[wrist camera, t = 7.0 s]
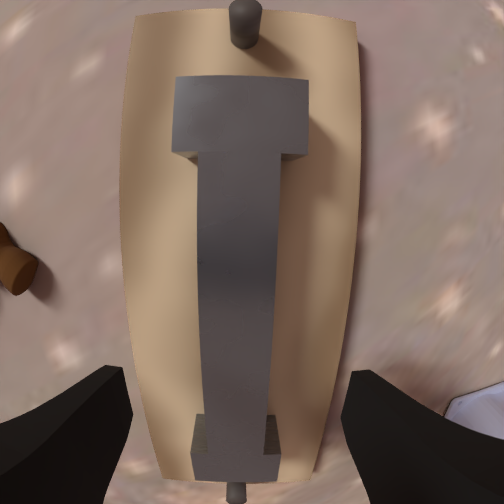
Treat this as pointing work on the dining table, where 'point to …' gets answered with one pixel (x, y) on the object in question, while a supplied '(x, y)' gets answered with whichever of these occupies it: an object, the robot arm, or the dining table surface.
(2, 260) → the hammer
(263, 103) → the drawer pull handle
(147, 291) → the oak board
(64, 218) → the dining table surface
